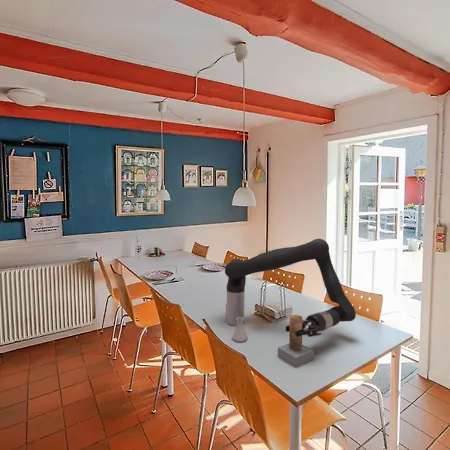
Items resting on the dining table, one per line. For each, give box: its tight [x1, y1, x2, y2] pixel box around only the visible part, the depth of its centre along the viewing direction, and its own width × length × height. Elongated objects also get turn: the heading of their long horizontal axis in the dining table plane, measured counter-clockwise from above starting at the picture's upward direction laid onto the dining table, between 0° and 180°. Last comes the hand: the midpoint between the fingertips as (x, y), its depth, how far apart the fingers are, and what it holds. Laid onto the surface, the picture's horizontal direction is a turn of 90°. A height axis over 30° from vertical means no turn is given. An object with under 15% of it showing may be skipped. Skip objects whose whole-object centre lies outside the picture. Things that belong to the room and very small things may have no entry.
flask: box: [231, 317, 249, 343], centre depth 144 cm, size 7×7×10 cm
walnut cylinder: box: [288, 314, 303, 349], centre depth 126 cm, size 5×5×12 cm
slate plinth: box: [277, 342, 314, 369], centre depth 127 cm, size 10×10×4 cm
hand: (291, 331), depth 125 cm, fingers closed on walnut cylinder, 5 cm apart
